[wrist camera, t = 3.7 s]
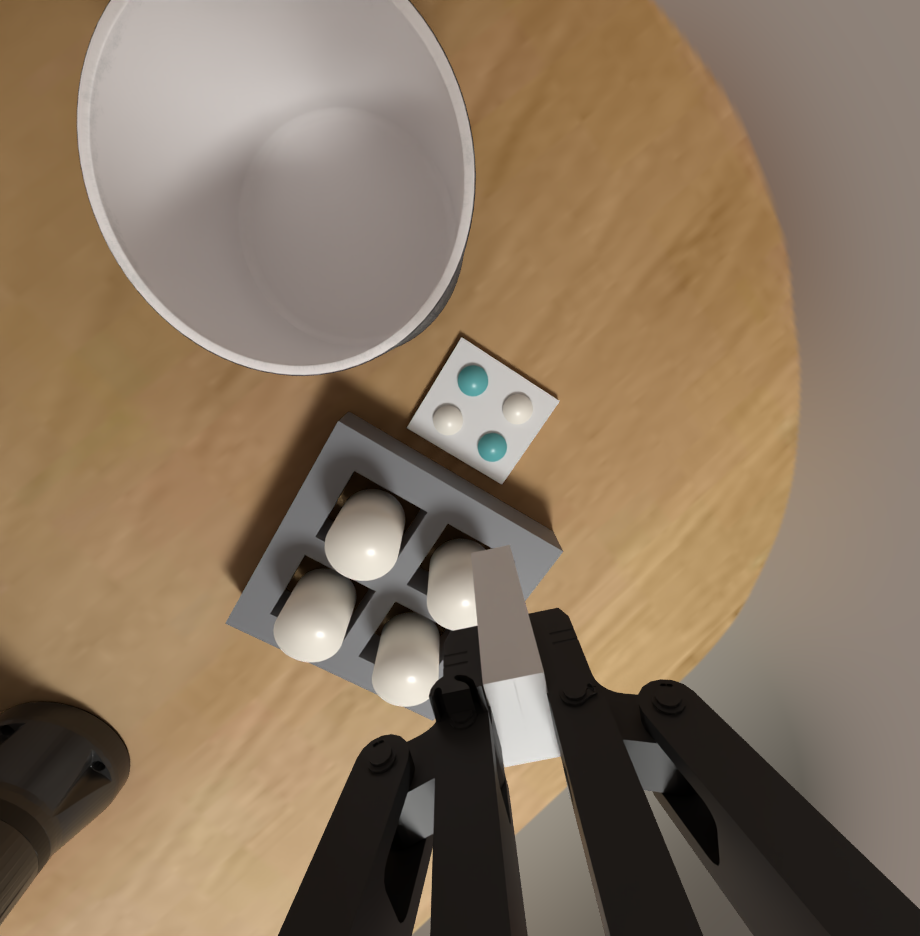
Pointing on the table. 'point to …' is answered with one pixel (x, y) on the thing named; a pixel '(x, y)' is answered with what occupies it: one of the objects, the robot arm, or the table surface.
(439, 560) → the button
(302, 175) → the planter
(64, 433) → the table surface
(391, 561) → the button
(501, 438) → the card
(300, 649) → the button
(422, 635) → the button
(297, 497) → the board
